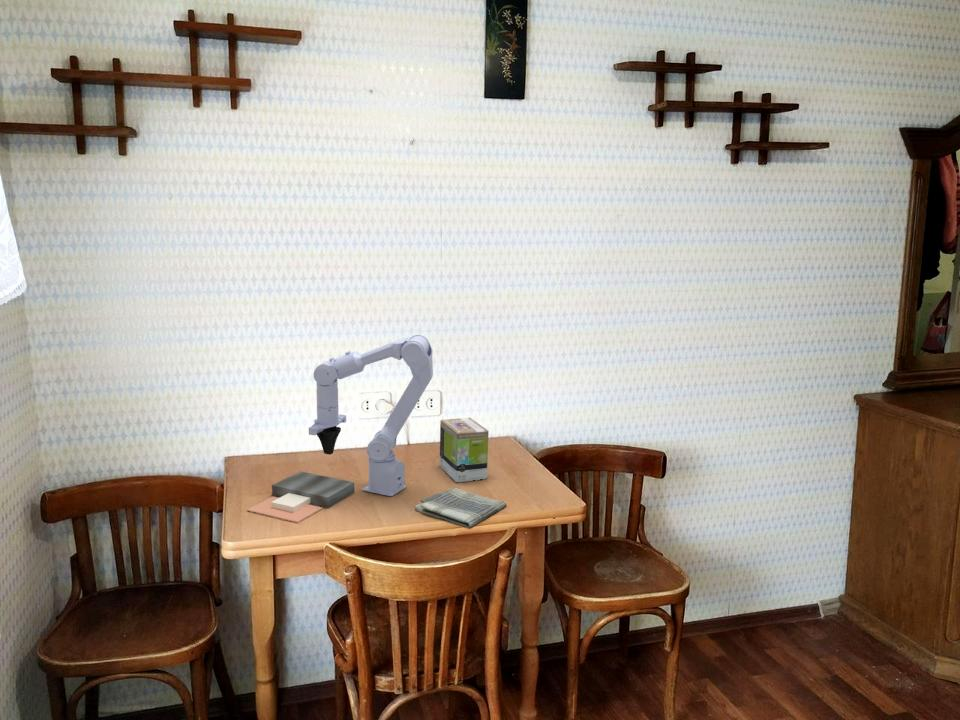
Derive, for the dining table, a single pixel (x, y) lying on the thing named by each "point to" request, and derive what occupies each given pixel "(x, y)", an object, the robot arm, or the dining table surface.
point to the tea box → (463, 449)
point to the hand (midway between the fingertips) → (328, 453)
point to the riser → (314, 488)
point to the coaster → (291, 502)
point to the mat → (281, 514)
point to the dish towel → (460, 507)
